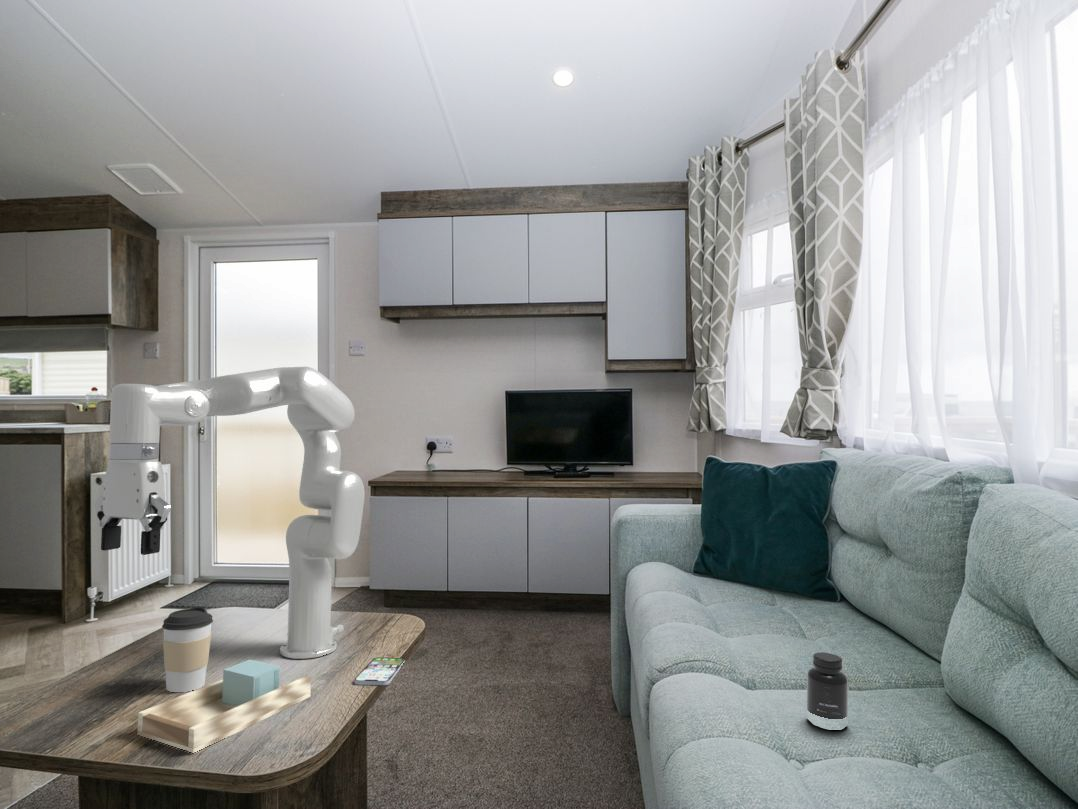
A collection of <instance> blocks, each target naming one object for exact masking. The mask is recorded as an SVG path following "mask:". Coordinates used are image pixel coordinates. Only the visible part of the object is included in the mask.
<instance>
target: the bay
mask: <svg viewBox="0 0 1078 809" xmlns="http://www.w3.org/2000/svg"><path fill="white" fill-rule="evenodd" d="M311 688H312V677H311V676H308V675H305V676H302V677H300V678H297V679H295V680H294V681H292V682H289V683H287V684H285V685H282V684H279V688H278V689H276V690H273V691H271V692H269V693H267V694H264V695H262V696H260V697H258V698H255V699H253V700H251V701H249V702H247V703H244V704H242V705H240V706H234V705H230V704H227V703H223V702H222V696H223V678H222V679H220V680H217V681H215V682H212V683H210V684H208V685H204V686H203V687H201V688H199V689H197V690H194V691H190V692H186V693H185V694H184V693H183V694H181V695H179V696H177V697H174V698H172V699H169V700H165V701H164V702H161V703H158V704H156V705H154V706H151V707H149V708H146V709H144V710H141V711H139V712H137V735H136V736H138V735H140V736H139V737H141V736H143V737H142V738H144V737H146V738H145V739H147V738H149V739H148V740H150V739H152V740H151V741H153V740H156V741H159V742H162V743H165V744H168V745H171V746H174V747H177V748H180V749H183V750H187V751H189V752H192V753H194V752H196V753H198V752H200V751H199V750H201V749H203V748H205V747H207V746H209V745H211V746H213V745H215V744H217V743H218V741H219V742H221V741H223V740H225V739H227V738H228V736H229V737H231V736H233V735H235V734H238V733H239V732H241V731H243V730H245V729H247V728H249V727H251V726H253V725H256V724H257V723H259V722H262V721H264V720H266V719H267V718H270V717H272V716H274V715H276V714H278V713H280V712H282V711H284V710H286V709H288V708H291V707H293V706H294V705H296V704H298V703H300V702H302V701H305V700H306V699H308V698H310V697H311V692H312V691H311V690H312V689H311ZM224 738H225V739H224ZM222 739H223V740H222ZM220 740H221V741H220ZM156 741H155V742H156ZM159 742H158V743H159ZM216 742H217V743H216ZM162 743H161V744H162ZM214 743H215V744H214ZM165 744H164V745H165ZM212 744H213V745H212ZM168 745H167V746H168ZM171 746H170V747H171ZM174 747H173V748H174ZM209 747H210V746H209ZM177 748H176V749H177ZM207 748H208V747H207ZM180 749H179V750H180ZM205 749H206V748H205ZM183 750H182V751H183ZM203 750H204V749H203ZM197 751H198V752H197ZM201 751H202V750H201ZM189 752H188V753H189ZM192 753H191V754H192ZM194 754H195V753H194Z"/></svg>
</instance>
